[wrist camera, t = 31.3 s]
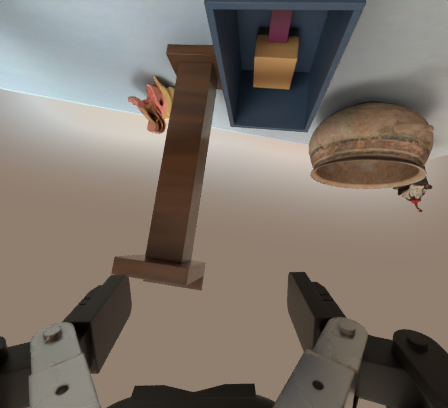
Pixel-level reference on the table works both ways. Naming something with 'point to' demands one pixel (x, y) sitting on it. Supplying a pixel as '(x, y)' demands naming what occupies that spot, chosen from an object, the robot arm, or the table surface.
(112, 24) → the table surface
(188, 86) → the dark wooden post
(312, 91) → the blue open box
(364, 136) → the cooking pot
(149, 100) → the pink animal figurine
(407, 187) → the sundae
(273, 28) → the brush
